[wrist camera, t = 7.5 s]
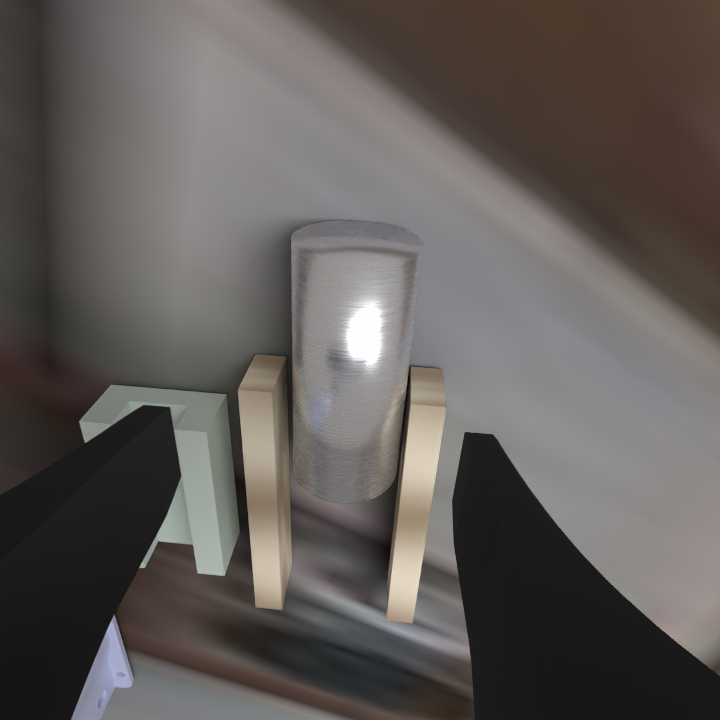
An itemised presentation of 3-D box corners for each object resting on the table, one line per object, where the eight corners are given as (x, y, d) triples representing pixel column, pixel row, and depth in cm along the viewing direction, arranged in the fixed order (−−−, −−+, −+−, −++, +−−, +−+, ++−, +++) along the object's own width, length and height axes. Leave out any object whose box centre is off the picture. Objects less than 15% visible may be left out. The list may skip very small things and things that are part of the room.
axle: (389, 432, 23) (403, 502, 19) (294, 433, 22) (291, 504, 19) (411, 222, 18) (435, 264, 15) (292, 218, 18) (288, 260, 14)
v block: (239, 531, 26) (224, 575, 24) (142, 522, 26) (118, 565, 24) (226, 394, 22) (206, 432, 20) (111, 384, 22) (79, 421, 20)
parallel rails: (412, 576, 26) (412, 623, 24) (268, 562, 27) (255, 607, 25) (442, 368, 20) (446, 407, 18) (255, 354, 21) (237, 389, 19)
